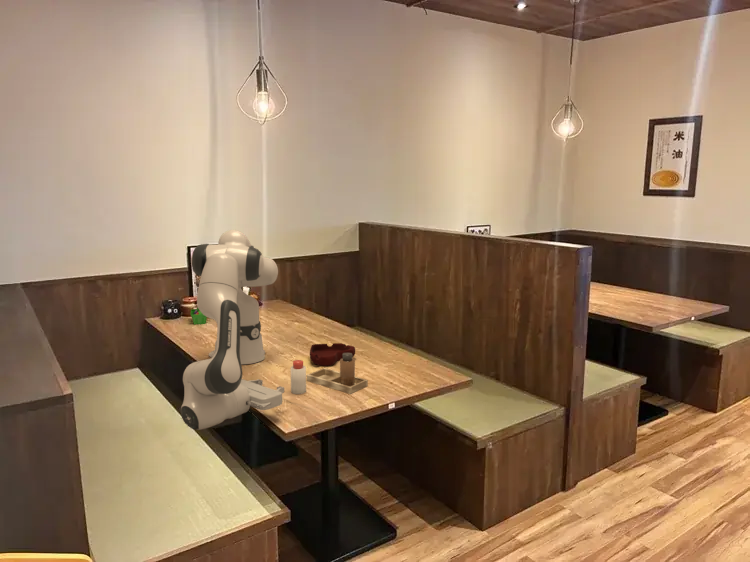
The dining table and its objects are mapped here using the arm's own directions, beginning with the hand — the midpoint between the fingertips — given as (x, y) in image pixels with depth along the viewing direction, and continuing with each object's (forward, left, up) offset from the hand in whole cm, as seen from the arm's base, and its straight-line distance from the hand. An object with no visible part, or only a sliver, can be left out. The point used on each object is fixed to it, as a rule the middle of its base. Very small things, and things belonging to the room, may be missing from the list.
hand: (271, 385), depth 175 cm
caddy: (+5, +24, -6) cm, 26 cm away
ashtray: (-15, +42, -7) cm, 45 cm away
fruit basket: (-98, +47, -7) cm, 109 cm away
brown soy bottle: (+10, +24, -5) cm, 27 cm away
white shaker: (0, +11, -6) cm, 13 cm away
